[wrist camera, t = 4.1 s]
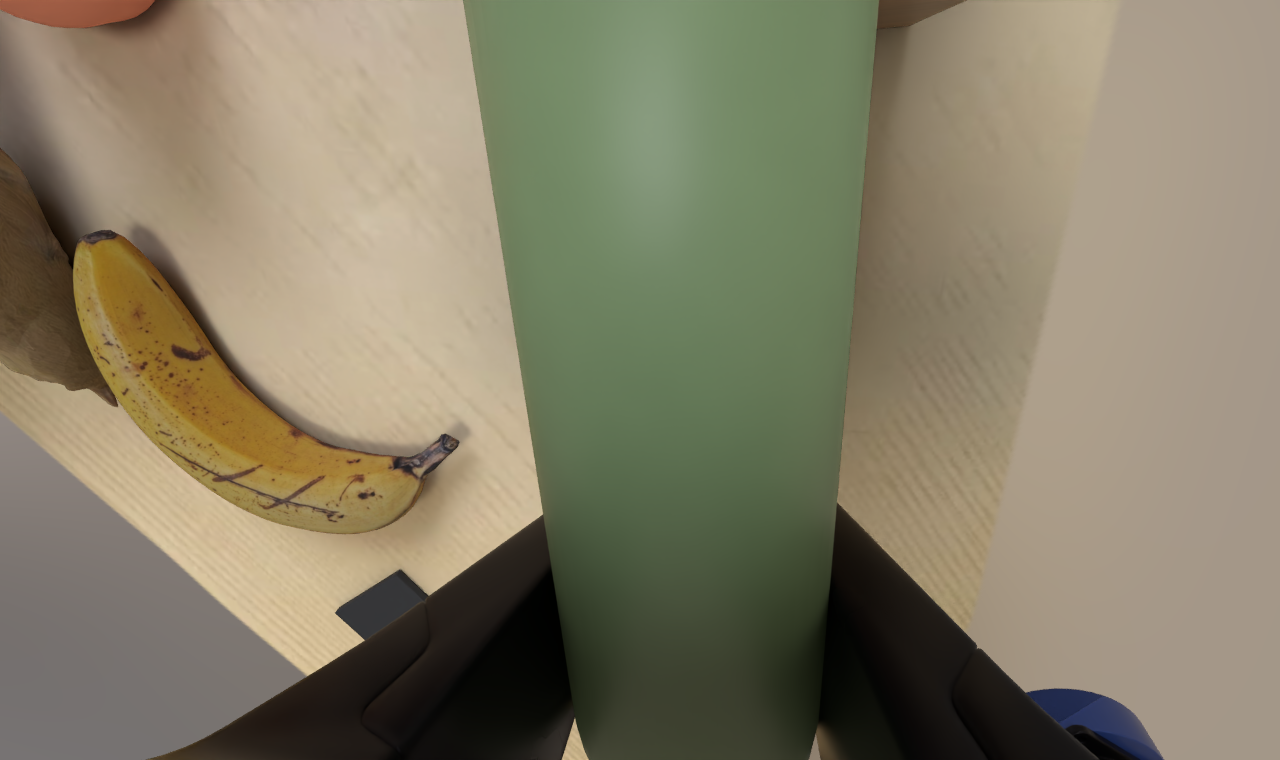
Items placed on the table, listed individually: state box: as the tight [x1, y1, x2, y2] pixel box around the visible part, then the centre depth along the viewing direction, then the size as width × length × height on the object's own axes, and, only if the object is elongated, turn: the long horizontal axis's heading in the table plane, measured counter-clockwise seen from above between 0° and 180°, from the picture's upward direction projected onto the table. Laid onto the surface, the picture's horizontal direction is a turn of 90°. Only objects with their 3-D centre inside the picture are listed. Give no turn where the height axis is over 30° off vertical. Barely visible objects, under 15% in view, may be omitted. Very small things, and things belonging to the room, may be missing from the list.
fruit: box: [73, 230, 459, 534], centre depth 24 cm, size 15×9×3 cm, turn 48°
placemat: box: [335, 570, 428, 640], centre depth 31 cm, size 10×5×1 cm, turn 38°
